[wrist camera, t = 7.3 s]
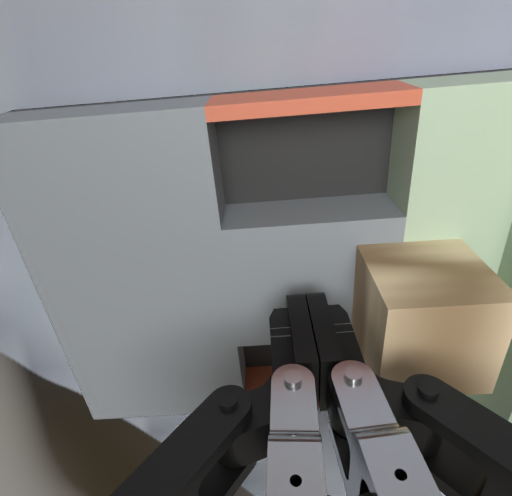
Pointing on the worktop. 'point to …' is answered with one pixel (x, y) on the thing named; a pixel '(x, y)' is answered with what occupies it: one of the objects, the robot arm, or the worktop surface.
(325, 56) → the worktop surface
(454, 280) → the maple block
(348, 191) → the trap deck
